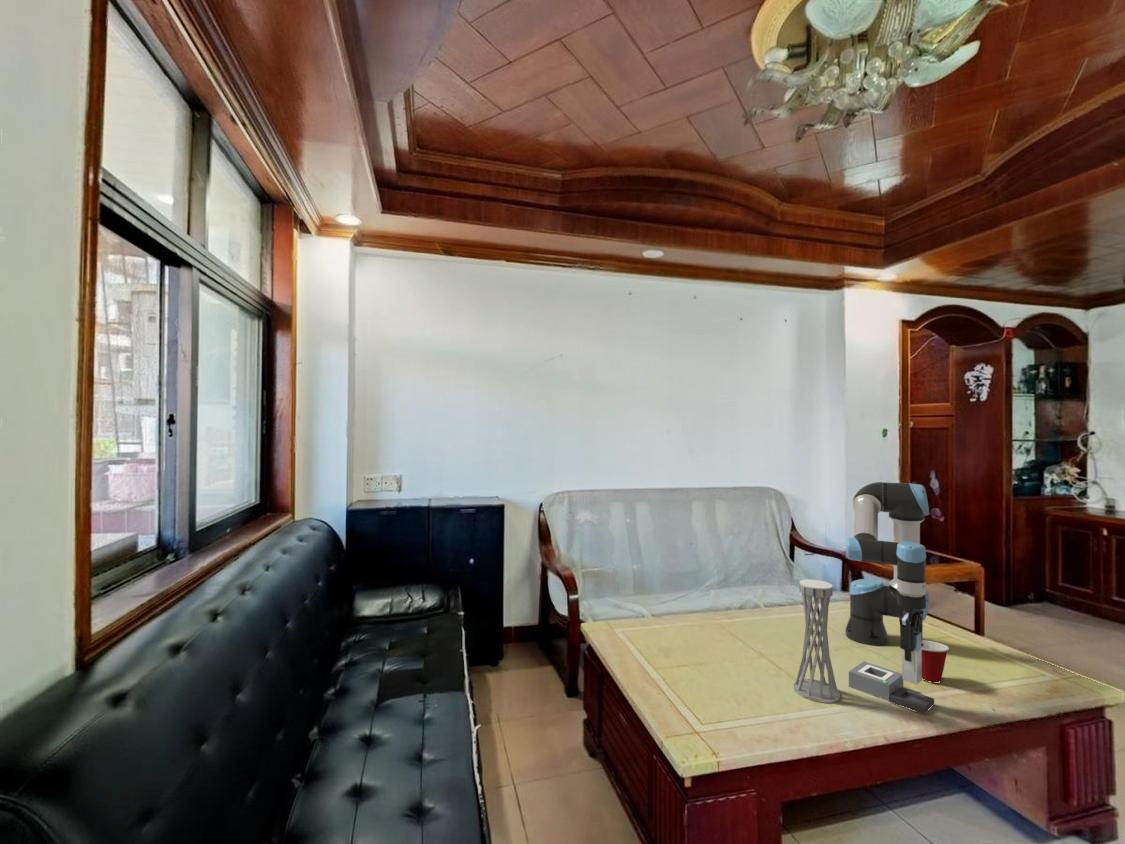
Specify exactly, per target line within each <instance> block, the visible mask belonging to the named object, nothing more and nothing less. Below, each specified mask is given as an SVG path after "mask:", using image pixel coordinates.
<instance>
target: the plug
mask: <svg viewBox="0 0 1125 844" xmlns="http://www.w3.org/2000/svg"><path fill="white" fill-rule="evenodd" d="M913 651H914V662H915V672H914V673H913V672H910V671H907V670H904V649H901V667H902V668H901V672H902V673H901V674H902V680H903V681H905V682H908V683H910V684H914V685H918V684H919V683H921V682H922V681H923V680H922V656H921V632H917V631H914V642H913Z"/></svg>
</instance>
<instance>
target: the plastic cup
mask: <svg viewBox="0 0 1125 844" xmlns="http://www.w3.org/2000/svg"><path fill="white" fill-rule="evenodd" d="M922 640H923V641H922V642H921V643H923V647H922V646H921V656H922V678H923V679H925V680H927V681H931V682H939V681H941V682H942V678H943V674H944V671H945V663H946V659H947V656H948V652H949V650H950V647H949V646H948V645H946V644H944V643H940V642H937V641H933V640H932V641H931V640H925V639H922Z"/></svg>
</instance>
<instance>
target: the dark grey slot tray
mask: <svg viewBox="0 0 1125 844" xmlns="http://www.w3.org/2000/svg"><path fill="white" fill-rule="evenodd" d="M890 702H893V703H895V704H894V705H896V704H898V705H901V706H904V707H907V708H910V709H912V710H915V711H917V712H920V713H922V714H921V715H923V714H925V713H926V712H927V711H928V709H929V708H930V707H931V706H932V705H933V704H934V705H935V698H934V697H931V696H927V695H925V694H922V693H918V692H917V691H913V690H910V689H908V688H905V687H903V688H902V687H901V688H900V689H898V690H897V691H896V692H895V693H894V694H892V695H891V696H890V701H889V703H890ZM893 703H892V704H893ZM898 705H897V706H898ZM901 706H900V707H901ZM904 707H903V708H904ZM912 710H911V711H912ZM917 712H916V713H917ZM928 712H929V711H928ZM928 712H927V713H928ZM920 713H919V714H920ZM927 713H926V714H927ZM926 714H925V715H926Z"/></svg>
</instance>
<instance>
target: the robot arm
mask: <svg viewBox="0 0 1125 844" xmlns="http://www.w3.org/2000/svg"><path fill="white" fill-rule="evenodd" d="M852 508H853V511H854V525H853V537H848V538H846V540H845V556H846V557H845V558H847V559H848V560H851V561H858V562H863V563H873V564H882V565H889V566H891V565H892V566H893V579H891V580H889V583H888V584H889V585H884V582H883V581H882V580H879V579H875V578H874V579H873V578H861V579H860V578H859V579H855V580H853V581H851V583H850V585H849V586H850V587H849V588H850V589H849V594H850V595H849V599H850V600H849V601H850V603H849V605H850V606H849V613H850V614H849V615H850V616H849V619H848V620H847V623H846V626H845V636H846V637H847V638H848V639H849V640H852V641H854V642H857V643H860V644H865V645H871V646H883V645H884V646H885V645H887V644H888V643H889V634H888V630H887V628H886V626H885V623H884V616H886V617H893V618H897V619H898V620H899V628H900V629H899V632H900V635H899V637H900V640H899V641H900V642H899V643H900V646H899V648H900V649H901V650H902V649H904V670H907V671H910V672H913V673H914V672H915V662H914V651H913V642H914V631H917V632H921V642H922V641H923V640H924V639H923V627H924V626H923V624H924V623H923V621H925V620H926V618H927V615H928V612H929V607H930V606H929V605H930V603H929V602H930V593H929V592H928V591H927V590H928V589H929V588H928V586H927V583H926V582H927V581H926V580H927V579H926V576H927V575H926V574H927V573H926V571H927V570H926V569H927V568H926V567H927V560H926V559H927V553H926V547H925V545H923V544H921V523H923V522H924V521H925V518H926V517H925V516H928V515H930V507H929V502H928V495H927V492H926V487H925V486H924V485H922V484H919V483H911V482H883V481H881V482H880V481H877V482H872V483H869V484H867V485H865V486H863V487H861V488H860V489H859V490H858V491H857V492H856V493H855V495H854V497H853V499H852ZM881 512H882V513H888V518H890V519H891V520H892V522H893V541H888V540H887V541H885V540H879V513H881ZM921 646H922V647H923V643H921Z"/></svg>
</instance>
